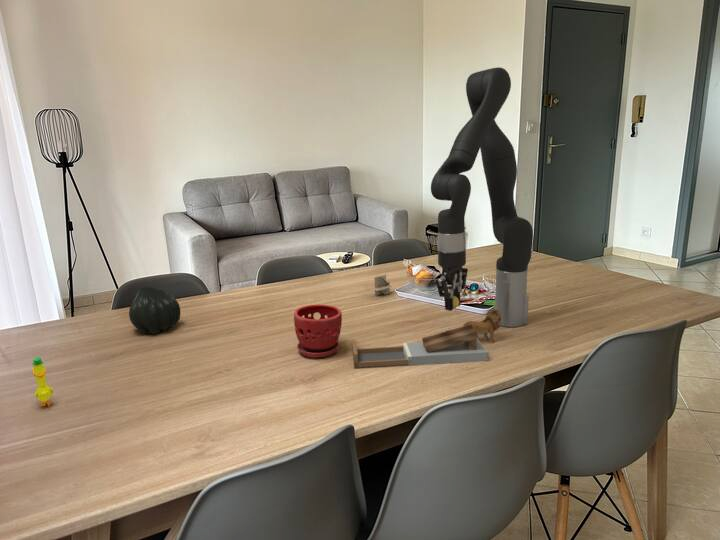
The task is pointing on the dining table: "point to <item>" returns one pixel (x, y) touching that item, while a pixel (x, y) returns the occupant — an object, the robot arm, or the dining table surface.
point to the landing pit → (378, 357)
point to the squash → (154, 310)
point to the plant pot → (317, 330)
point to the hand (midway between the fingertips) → (452, 307)
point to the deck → (443, 354)
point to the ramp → (452, 339)
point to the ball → (455, 302)
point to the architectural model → (381, 285)
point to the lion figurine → (487, 324)
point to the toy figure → (41, 382)
